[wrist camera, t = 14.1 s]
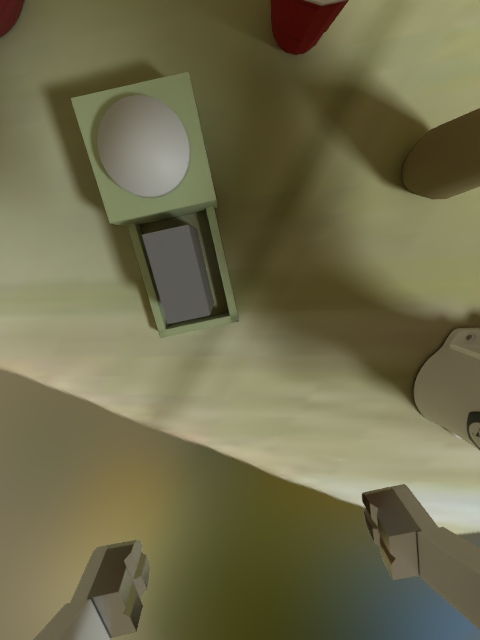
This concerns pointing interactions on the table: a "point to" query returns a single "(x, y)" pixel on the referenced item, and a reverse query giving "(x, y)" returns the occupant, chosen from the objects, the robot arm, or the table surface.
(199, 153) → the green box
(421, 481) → the table surface
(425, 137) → the squeeze bottle
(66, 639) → the robot arm
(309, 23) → the plastic cup
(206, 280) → the tall grey box
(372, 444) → the table surface
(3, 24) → the canister
